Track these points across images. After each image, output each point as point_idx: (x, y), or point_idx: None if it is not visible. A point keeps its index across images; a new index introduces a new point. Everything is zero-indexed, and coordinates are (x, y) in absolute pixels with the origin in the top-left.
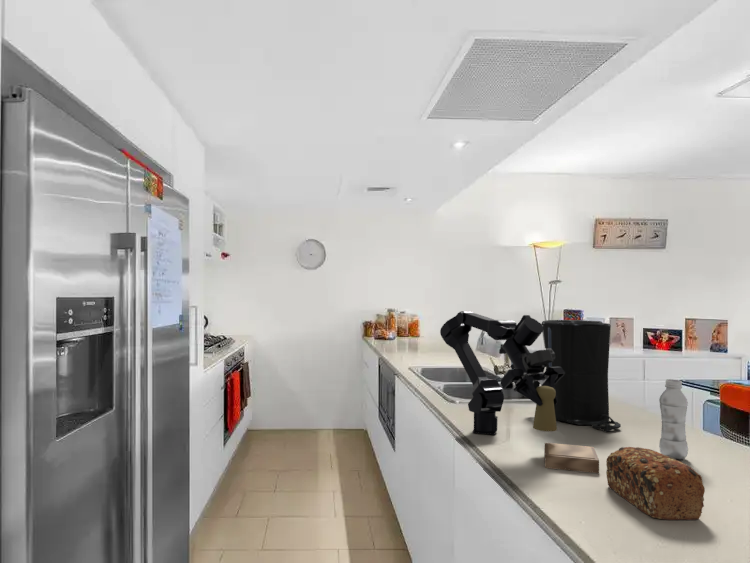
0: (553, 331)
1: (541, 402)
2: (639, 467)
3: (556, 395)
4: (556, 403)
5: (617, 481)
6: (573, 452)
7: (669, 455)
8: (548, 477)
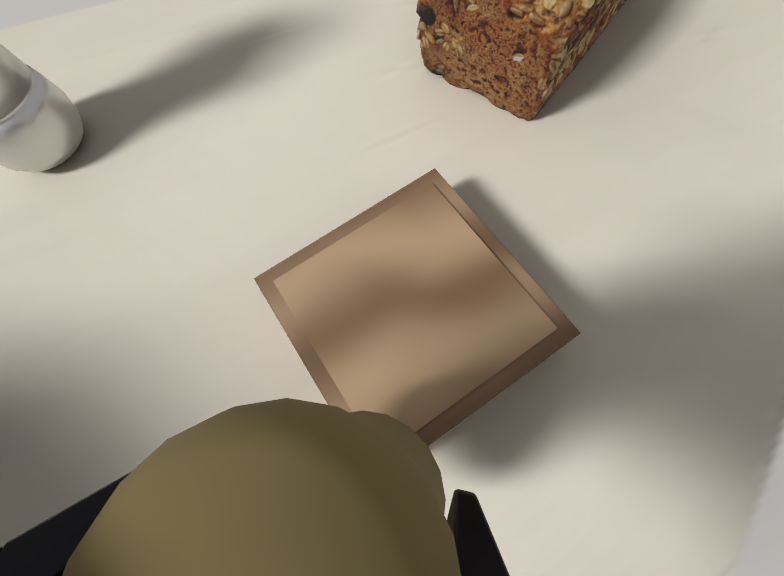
0: None
1: (474, 502)
2: None
3: (119, 479)
4: None
5: (574, 52)
6: (429, 276)
7: (79, 131)
8: (643, 271)
